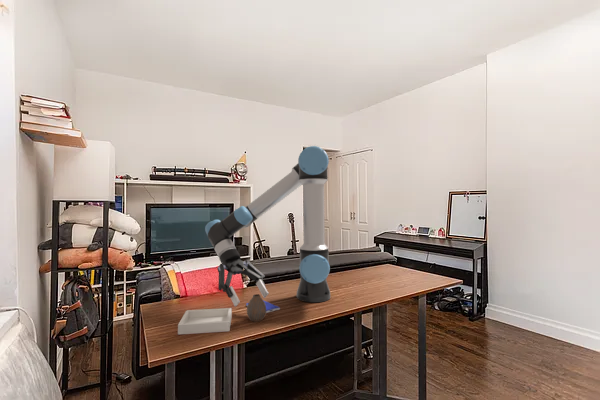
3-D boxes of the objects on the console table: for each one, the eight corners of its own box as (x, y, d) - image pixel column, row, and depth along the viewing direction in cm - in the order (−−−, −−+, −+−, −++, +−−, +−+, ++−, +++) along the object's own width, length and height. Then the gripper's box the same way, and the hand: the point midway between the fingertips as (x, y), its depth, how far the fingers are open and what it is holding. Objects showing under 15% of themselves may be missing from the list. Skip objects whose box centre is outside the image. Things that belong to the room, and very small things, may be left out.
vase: (250, 324, 106) (250, 299, 106) (244, 318, 112) (244, 293, 112) (269, 321, 109) (269, 296, 109) (262, 315, 115) (262, 291, 116)
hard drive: (245, 303, 126) (262, 311, 117) (262, 299, 131) (279, 306, 122) (245, 307, 126) (262, 315, 117) (262, 303, 131) (279, 310, 122)
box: (231, 316, 114) (231, 307, 114) (229, 331, 100) (229, 321, 100) (186, 318, 111) (186, 310, 111) (177, 334, 98) (177, 325, 98)
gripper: (248, 255, 132) (272, 297, 122) (195, 263, 114) (218, 314, 104) (256, 244, 129) (281, 286, 119) (203, 251, 110) (228, 301, 100)
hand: (252, 299), depth 111 cm, fingers open, 13 cm apart
